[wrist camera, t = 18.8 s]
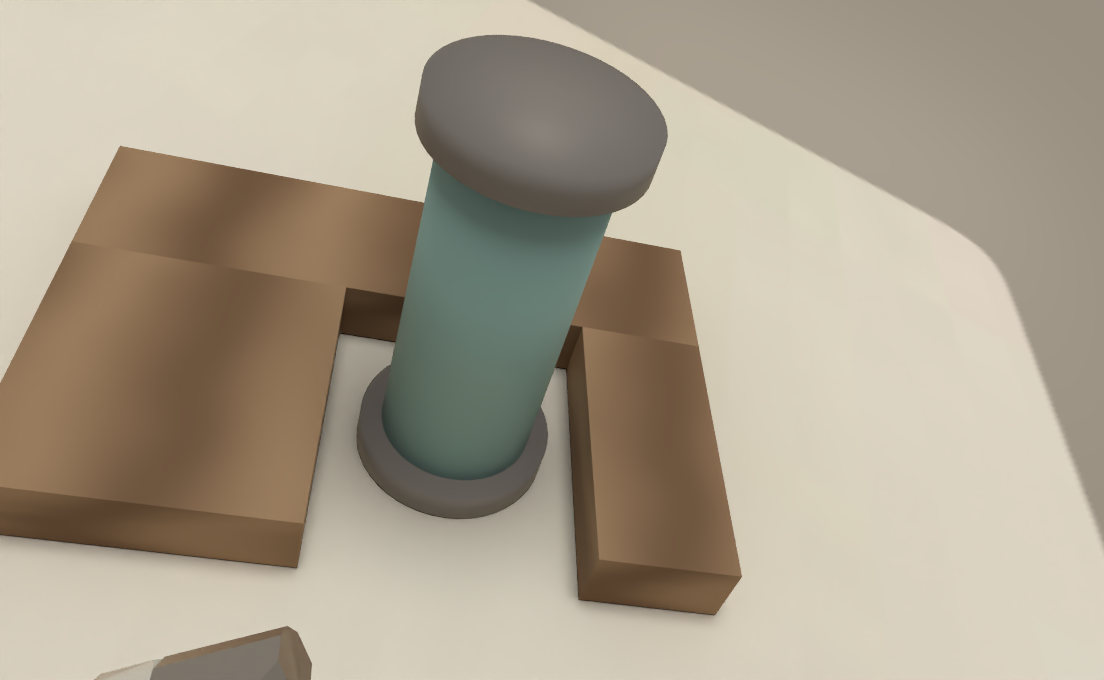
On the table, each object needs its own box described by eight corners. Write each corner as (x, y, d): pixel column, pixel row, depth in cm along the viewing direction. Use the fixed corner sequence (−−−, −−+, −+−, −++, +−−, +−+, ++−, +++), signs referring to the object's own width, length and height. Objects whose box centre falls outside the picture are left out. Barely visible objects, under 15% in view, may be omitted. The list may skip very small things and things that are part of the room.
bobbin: (345, 505, 28) (412, 147, 20) (367, 360, 32) (430, 14, 24) (541, 530, 29) (681, 200, 21) (538, 387, 33) (654, 65, 25)
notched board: (-37, 530, 24) (-49, 480, 23) (122, 194, 34) (120, 145, 33) (715, 614, 28) (742, 576, 27) (662, 290, 38) (680, 250, 37)
